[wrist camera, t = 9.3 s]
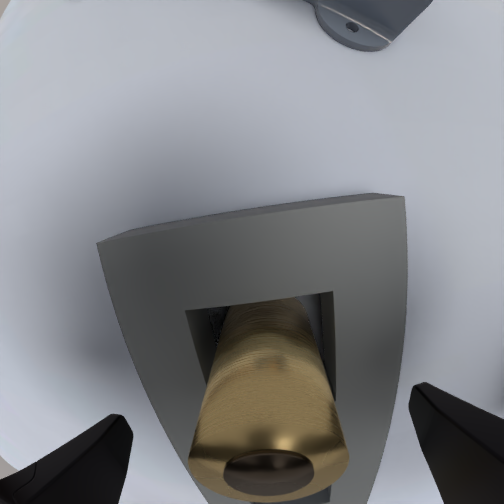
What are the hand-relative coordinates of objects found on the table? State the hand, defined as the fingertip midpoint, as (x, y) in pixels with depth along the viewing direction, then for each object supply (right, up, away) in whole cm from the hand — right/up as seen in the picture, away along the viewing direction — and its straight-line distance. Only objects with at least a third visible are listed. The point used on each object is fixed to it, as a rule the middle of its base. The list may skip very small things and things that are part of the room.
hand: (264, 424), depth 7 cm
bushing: (0, +1, +6) cm, 6 cm away
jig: (+1, -4, +7) cm, 8 cm away
